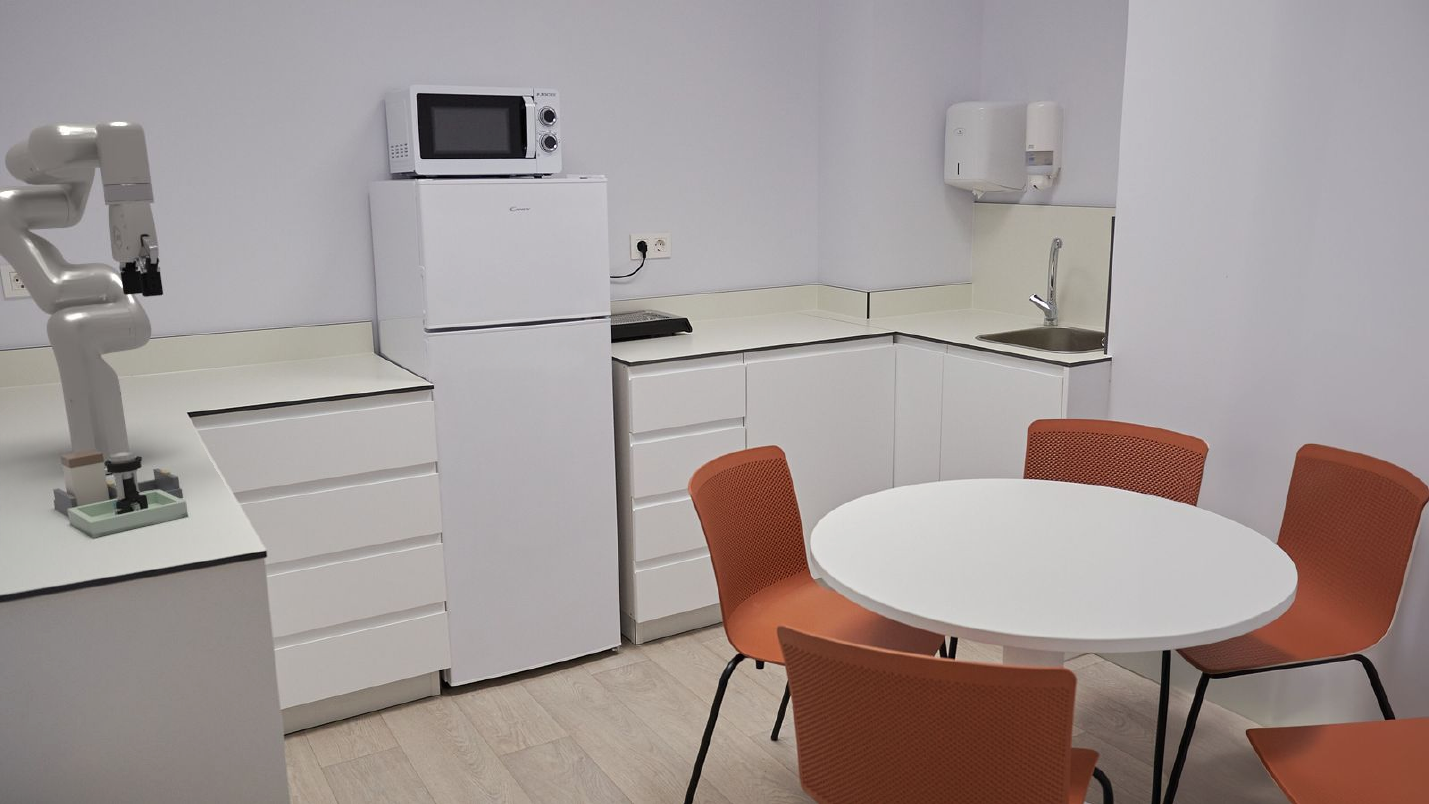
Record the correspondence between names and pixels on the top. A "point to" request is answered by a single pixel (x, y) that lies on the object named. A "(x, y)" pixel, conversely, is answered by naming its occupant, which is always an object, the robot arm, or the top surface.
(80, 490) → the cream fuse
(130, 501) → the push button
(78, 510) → the tray
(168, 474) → the holder
